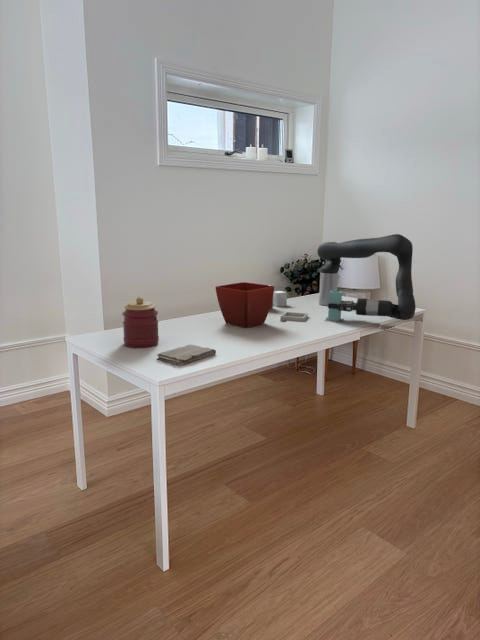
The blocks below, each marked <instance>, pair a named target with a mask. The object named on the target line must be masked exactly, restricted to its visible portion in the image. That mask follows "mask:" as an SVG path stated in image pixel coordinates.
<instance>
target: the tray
mask: <svg viewBox="0 0 480 640" xmlns="http://www.w3.org/2000/svg"><path fill="white" fill-rule="evenodd" d="M308 317H309V314H308V313H306V312H294V311H285V312H284V313H283V314H281V315H280V322H288V321H293V322H301V323H302V322H305V321H306V319H308Z"/></svg>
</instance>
